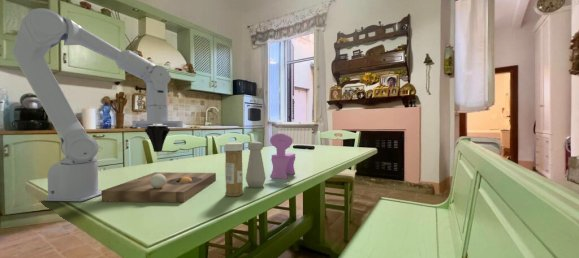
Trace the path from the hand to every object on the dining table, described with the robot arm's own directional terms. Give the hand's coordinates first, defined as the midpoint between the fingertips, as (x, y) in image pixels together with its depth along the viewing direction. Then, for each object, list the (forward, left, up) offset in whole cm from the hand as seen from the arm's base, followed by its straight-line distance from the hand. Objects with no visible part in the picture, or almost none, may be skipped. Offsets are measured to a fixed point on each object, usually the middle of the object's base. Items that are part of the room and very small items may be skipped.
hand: (158, 151), depth 77 cm
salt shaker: (+30, -1, -10) cm, 32 cm away
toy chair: (+37, +14, -10) cm, 41 cm away
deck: (+6, -6, -10) cm, 13 cm away
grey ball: (+8, -14, -6) cm, 17 cm away
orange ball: (+11, -6, -8) cm, 15 cm away
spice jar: (+26, -10, -10) cm, 30 cm away
